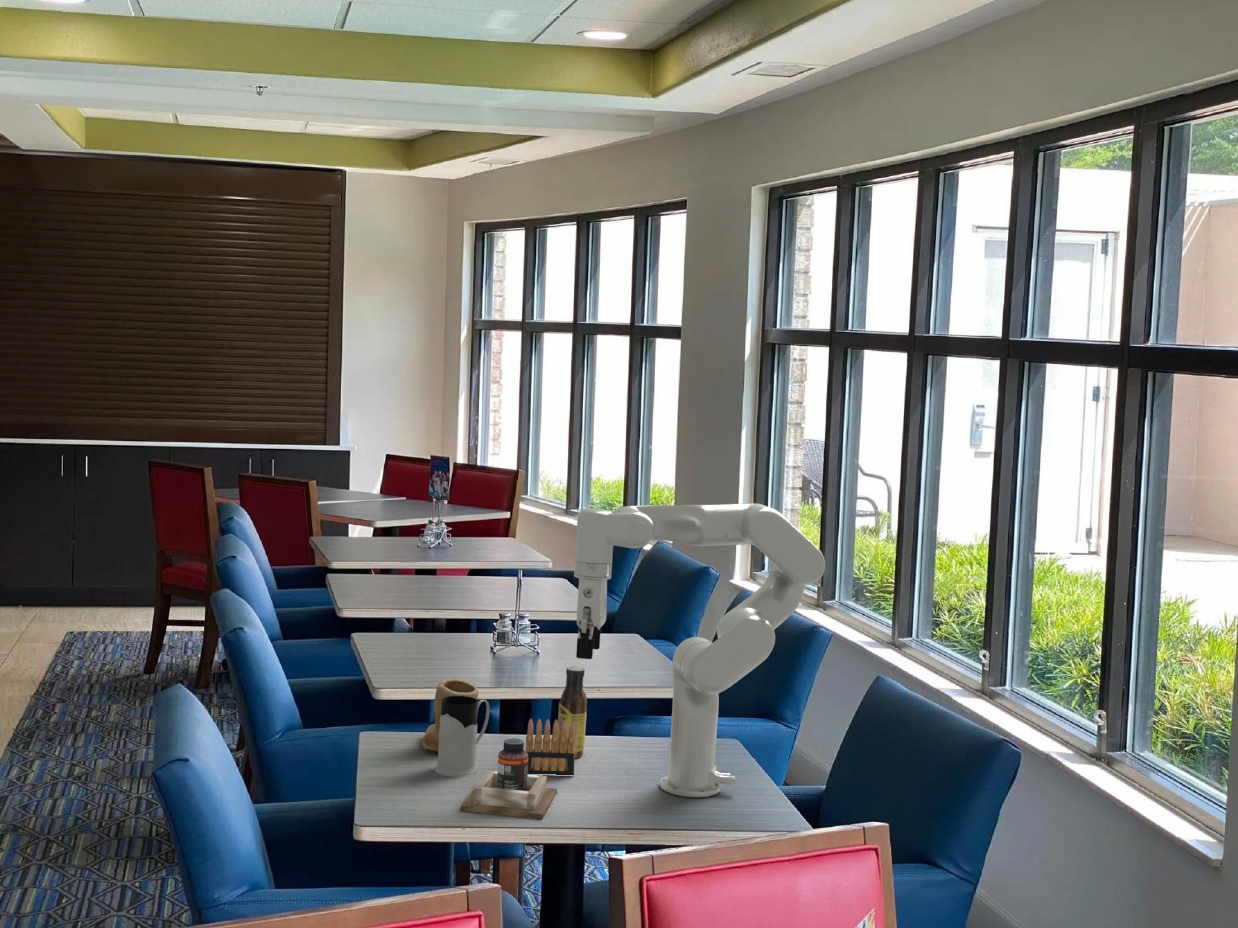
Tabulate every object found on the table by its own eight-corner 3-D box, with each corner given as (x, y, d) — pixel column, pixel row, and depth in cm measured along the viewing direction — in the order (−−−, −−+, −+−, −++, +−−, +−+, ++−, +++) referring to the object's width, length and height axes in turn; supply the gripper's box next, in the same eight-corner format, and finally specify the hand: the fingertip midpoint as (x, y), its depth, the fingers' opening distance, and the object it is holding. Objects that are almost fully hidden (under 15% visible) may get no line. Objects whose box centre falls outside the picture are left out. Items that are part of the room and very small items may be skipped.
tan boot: (472, 757, 292) (475, 690, 291) (417, 754, 292) (420, 686, 291) (479, 738, 307) (483, 674, 306) (427, 735, 307) (431, 671, 306)
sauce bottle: (554, 750, 301) (560, 663, 299) (582, 751, 301) (587, 664, 300) (556, 759, 294) (561, 670, 293) (585, 760, 295) (590, 671, 293)
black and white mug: (426, 770, 281) (430, 699, 280) (470, 756, 293) (473, 688, 292) (458, 779, 276) (462, 707, 275) (501, 764, 288) (505, 696, 287)
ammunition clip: (573, 774, 285) (576, 719, 284) (574, 777, 283) (577, 721, 282) (523, 772, 284) (526, 717, 283) (523, 775, 282) (526, 719, 281)
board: (557, 793, 271) (558, 774, 271) (542, 819, 255) (543, 798, 255) (479, 785, 273) (481, 766, 273) (460, 810, 257) (461, 790, 257)
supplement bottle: (523, 791, 267) (526, 736, 267) (529, 801, 262) (532, 744, 261) (493, 792, 266) (496, 736, 265) (498, 802, 260) (502, 745, 259)
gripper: (605, 577, 262) (600, 663, 263) (617, 565, 279) (612, 646, 280) (567, 574, 263) (562, 660, 264) (581, 562, 280) (576, 643, 281)
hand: (588, 653), depth 272 cm, fingers open, 9 cm apart
